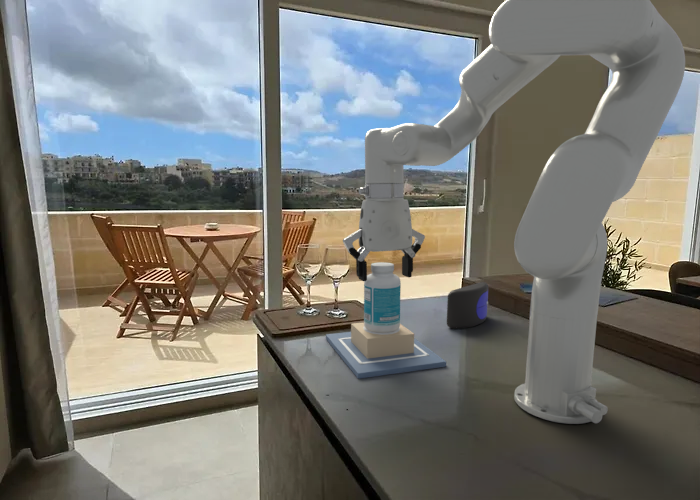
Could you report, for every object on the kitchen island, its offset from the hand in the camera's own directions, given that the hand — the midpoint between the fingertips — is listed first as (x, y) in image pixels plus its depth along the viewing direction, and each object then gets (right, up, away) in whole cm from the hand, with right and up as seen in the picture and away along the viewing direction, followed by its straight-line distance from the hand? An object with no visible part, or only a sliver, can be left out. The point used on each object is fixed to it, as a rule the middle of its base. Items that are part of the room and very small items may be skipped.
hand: (385, 278), depth 95 cm
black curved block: (+22, -13, +23) cm, 34 cm away
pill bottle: (-1, -11, +2) cm, 11 cm away
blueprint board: (-1, -16, +3) cm, 16 cm away
